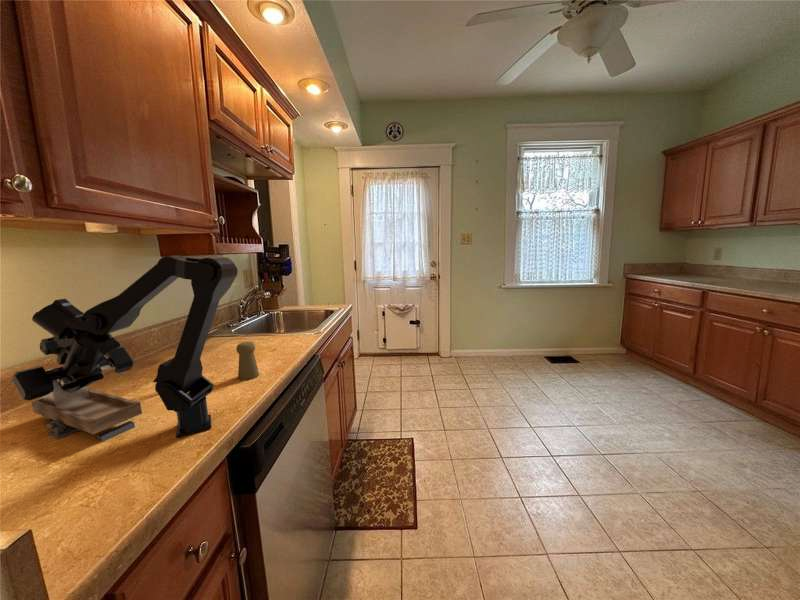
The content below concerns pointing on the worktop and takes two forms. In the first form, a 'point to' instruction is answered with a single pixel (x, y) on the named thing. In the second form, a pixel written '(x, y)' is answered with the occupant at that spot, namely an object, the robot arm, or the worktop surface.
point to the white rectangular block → (64, 396)
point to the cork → (247, 361)
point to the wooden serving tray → (91, 411)
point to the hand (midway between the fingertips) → (71, 390)
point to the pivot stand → (67, 430)
